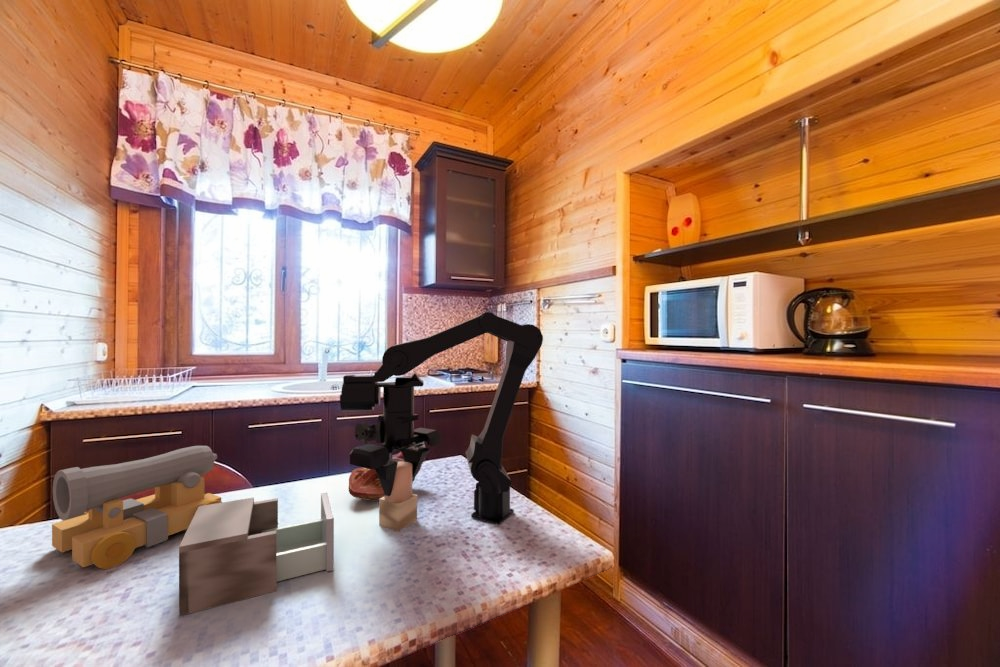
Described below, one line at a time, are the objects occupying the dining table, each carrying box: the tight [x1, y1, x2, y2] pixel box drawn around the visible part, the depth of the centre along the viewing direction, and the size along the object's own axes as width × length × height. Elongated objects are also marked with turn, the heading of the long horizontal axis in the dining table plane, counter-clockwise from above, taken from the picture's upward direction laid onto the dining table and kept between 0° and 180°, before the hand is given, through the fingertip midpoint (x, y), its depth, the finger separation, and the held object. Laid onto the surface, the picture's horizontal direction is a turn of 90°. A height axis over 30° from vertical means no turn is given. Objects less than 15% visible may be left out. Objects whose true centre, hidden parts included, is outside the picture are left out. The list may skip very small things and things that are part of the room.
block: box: [378, 493, 418, 532], centre depth 78 cm, size 5×5×5 cm
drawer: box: [261, 492, 335, 583], centre depth 65 cm, size 10×11×8 cm
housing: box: [178, 497, 279, 617], centre depth 61 cm, size 11×14×9 cm
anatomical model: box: [348, 451, 426, 501], centre depth 92 cm, size 11×13×15 cm
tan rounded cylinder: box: [384, 461, 413, 503], centre depth 78 cm, size 5×5×6 cm
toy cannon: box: [51, 445, 223, 570], centre depth 73 cm, size 16×22×15 cm
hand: (398, 490), depth 78 cm, fingers closed on tan rounded cylinder, 5 cm apart
